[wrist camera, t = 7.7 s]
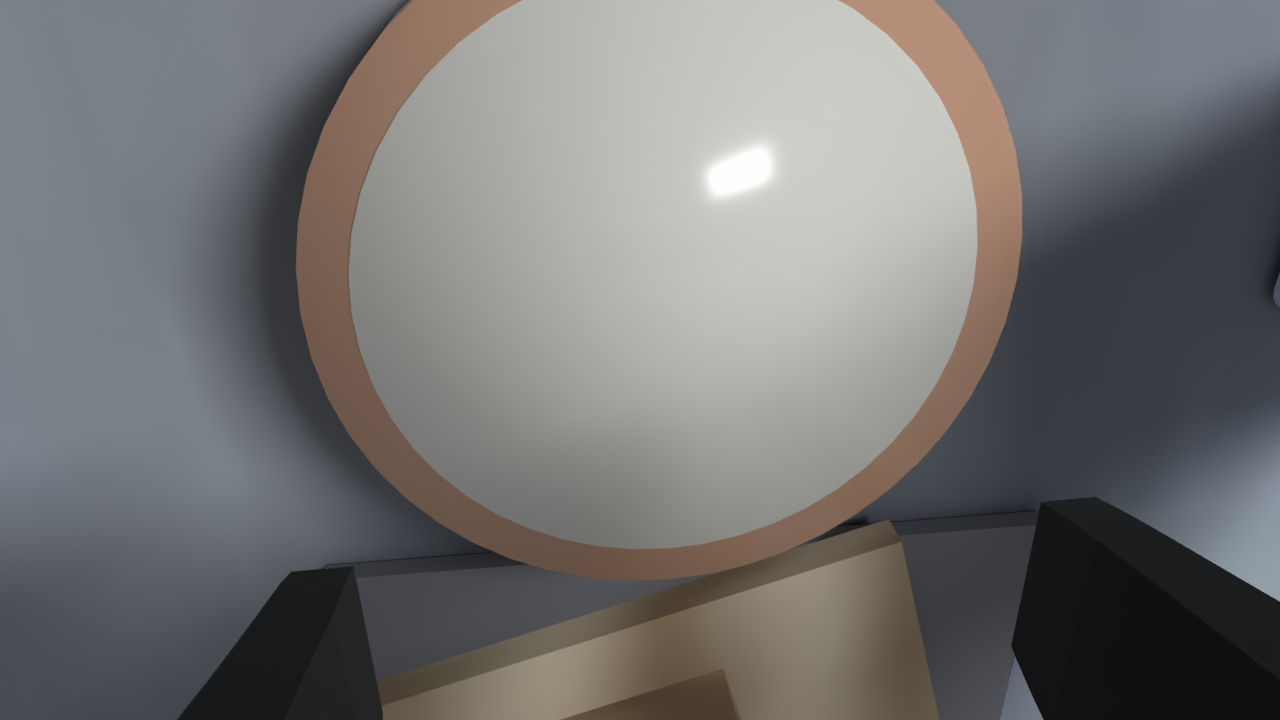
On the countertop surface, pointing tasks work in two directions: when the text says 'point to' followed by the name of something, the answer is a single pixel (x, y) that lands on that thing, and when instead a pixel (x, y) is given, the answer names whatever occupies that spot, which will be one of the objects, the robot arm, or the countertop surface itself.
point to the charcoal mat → (538, 598)
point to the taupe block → (709, 650)
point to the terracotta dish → (657, 267)
